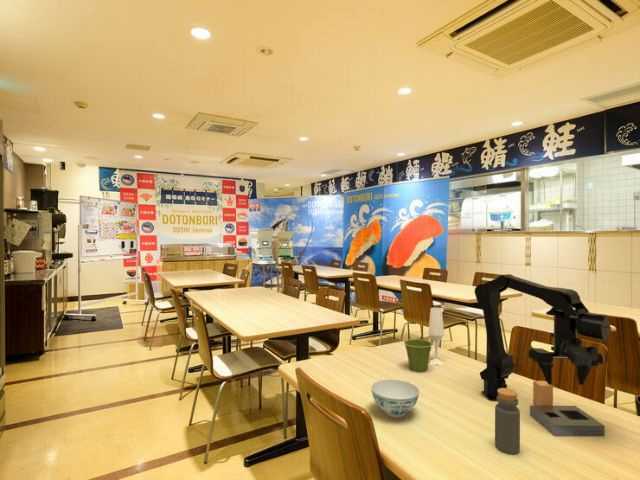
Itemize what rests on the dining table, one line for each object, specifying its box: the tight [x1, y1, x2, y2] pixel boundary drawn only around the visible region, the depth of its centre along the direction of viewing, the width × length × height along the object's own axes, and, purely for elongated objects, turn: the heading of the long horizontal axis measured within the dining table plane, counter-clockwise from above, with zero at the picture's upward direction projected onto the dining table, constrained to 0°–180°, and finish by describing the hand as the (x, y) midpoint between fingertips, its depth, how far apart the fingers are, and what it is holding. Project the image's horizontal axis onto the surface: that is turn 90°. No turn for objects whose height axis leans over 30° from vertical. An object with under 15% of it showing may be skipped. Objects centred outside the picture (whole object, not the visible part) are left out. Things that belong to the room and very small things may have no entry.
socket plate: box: [529, 404, 606, 437], centre depth 107 cm, size 14×12×3 cm
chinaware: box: [370, 378, 420, 419], centre depth 115 cm, size 15×15×8 cm
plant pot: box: [403, 338, 434, 373], centre depth 152 cm, size 12×12×11 cm
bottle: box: [494, 387, 521, 455], centre depth 95 cm, size 6×6×15 cm
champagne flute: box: [427, 307, 445, 364], centre depth 160 cm, size 7×7×24 cm
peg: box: [532, 380, 554, 406], centre depth 118 cm, size 4×4×8 cm
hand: (565, 384), depth 107 cm, fingers open, 9 cm apart
